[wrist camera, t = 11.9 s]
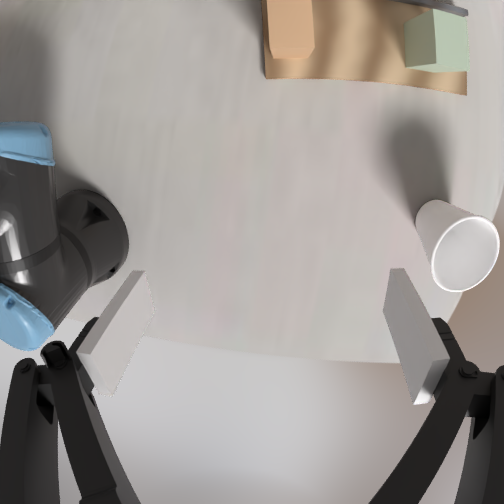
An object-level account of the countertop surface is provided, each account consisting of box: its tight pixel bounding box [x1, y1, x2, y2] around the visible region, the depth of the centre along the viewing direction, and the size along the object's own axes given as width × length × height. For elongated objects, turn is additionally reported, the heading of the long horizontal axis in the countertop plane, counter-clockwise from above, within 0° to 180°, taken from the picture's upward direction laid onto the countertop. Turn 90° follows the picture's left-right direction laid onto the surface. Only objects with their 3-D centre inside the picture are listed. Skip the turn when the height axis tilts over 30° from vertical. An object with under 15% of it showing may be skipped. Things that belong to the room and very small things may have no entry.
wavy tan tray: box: [261, 0, 468, 95], centre depth 29 cm, size 26×12×3 cm, turn 93°
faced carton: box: [267, 0, 315, 59], centre depth 27 cm, size 4×6×9 cm, turn 3°
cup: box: [415, 200, 499, 292], centre depth 36 cm, size 10×10×11 cm
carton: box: [404, 9, 470, 73], centre depth 25 cm, size 4×6×9 cm, turn 2°
